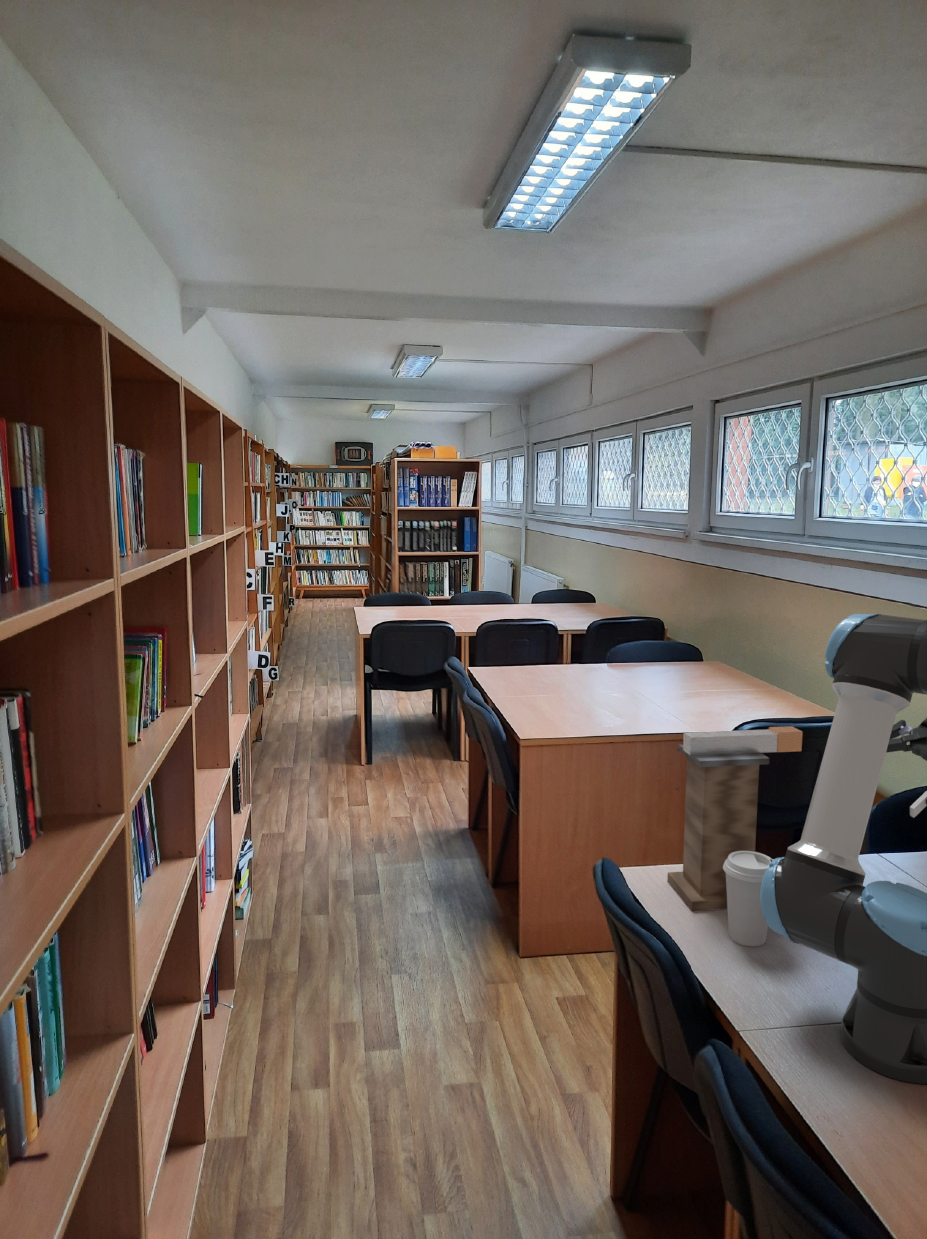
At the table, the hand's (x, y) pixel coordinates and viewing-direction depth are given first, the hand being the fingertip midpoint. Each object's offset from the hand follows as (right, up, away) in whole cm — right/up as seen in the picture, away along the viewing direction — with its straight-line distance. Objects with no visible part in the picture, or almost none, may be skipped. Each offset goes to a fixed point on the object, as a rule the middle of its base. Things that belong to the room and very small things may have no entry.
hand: (878, 792), depth 157 cm
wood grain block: (-23, +7, +9) cm, 25 cm away
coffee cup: (-26, -26, -4) cm, 37 cm away
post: (-27, -23, +13) cm, 38 cm away
